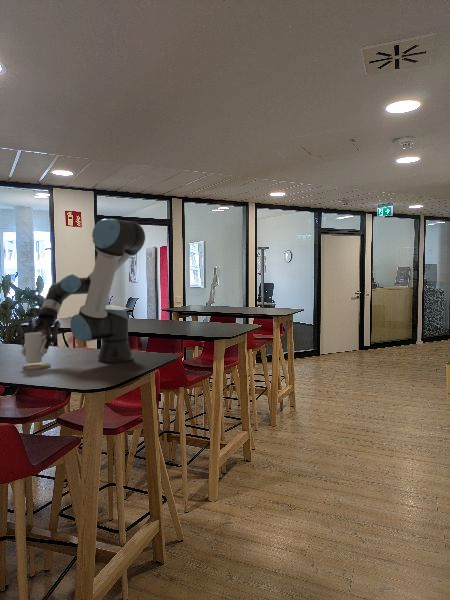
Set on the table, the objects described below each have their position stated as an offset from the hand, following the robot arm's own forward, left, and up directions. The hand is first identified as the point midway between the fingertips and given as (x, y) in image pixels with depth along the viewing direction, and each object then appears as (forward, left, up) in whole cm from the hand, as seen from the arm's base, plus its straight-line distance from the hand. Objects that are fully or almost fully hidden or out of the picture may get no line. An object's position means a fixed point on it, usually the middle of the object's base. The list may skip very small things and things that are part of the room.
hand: (32, 354), depth 192 cm
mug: (+1, -3, -4) cm, 5 cm away
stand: (+2, -3, -6) cm, 7 cm away
